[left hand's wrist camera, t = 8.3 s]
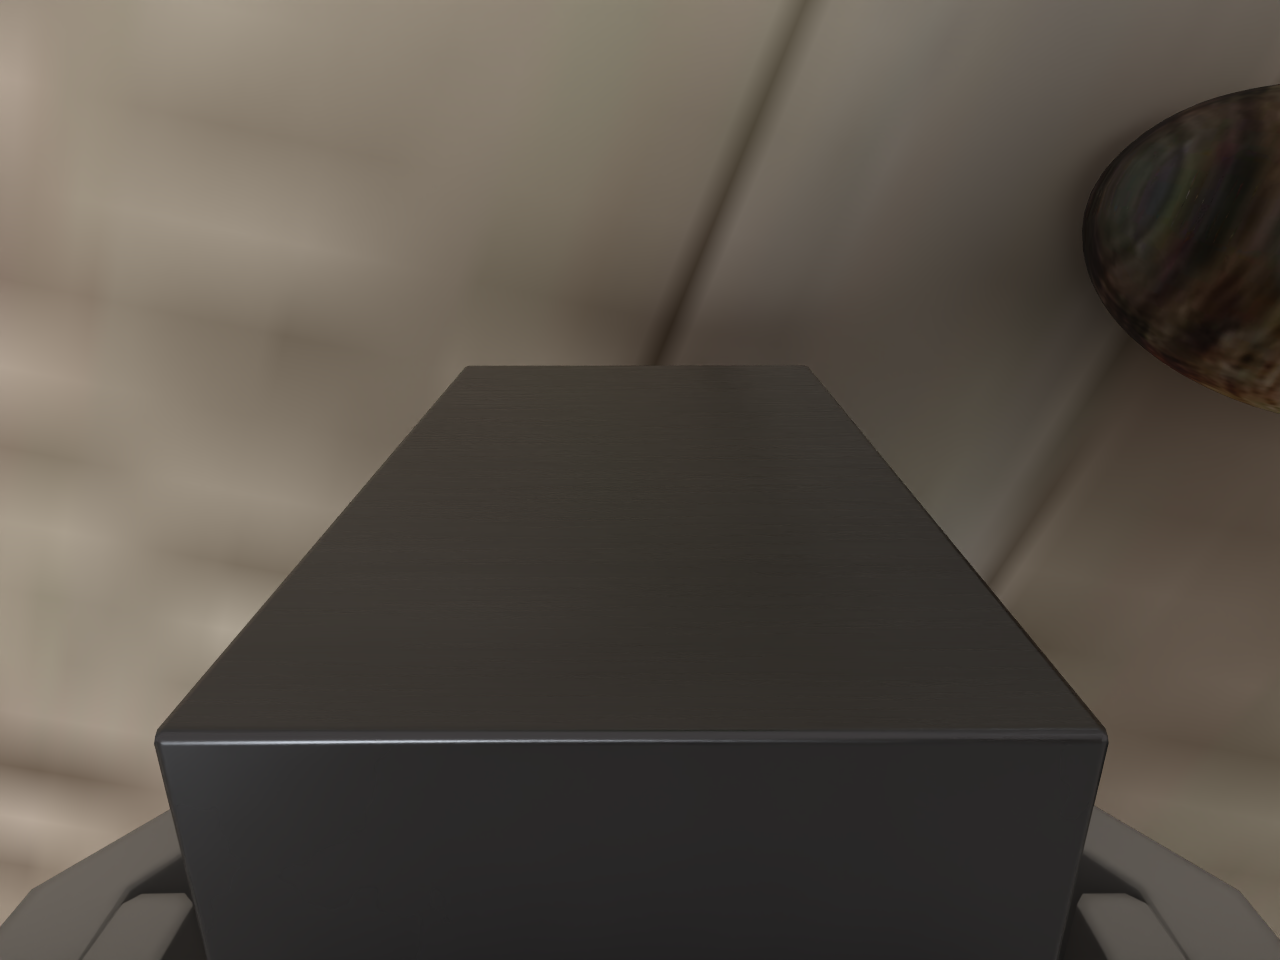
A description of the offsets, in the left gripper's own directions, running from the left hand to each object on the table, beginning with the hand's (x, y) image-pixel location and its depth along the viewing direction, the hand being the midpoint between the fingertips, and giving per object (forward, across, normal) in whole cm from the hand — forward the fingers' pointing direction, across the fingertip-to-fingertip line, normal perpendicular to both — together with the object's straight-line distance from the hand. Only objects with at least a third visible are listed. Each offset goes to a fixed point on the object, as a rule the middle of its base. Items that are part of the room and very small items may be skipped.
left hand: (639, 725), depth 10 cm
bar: (+3, 0, -9) cm, 9 cm away
